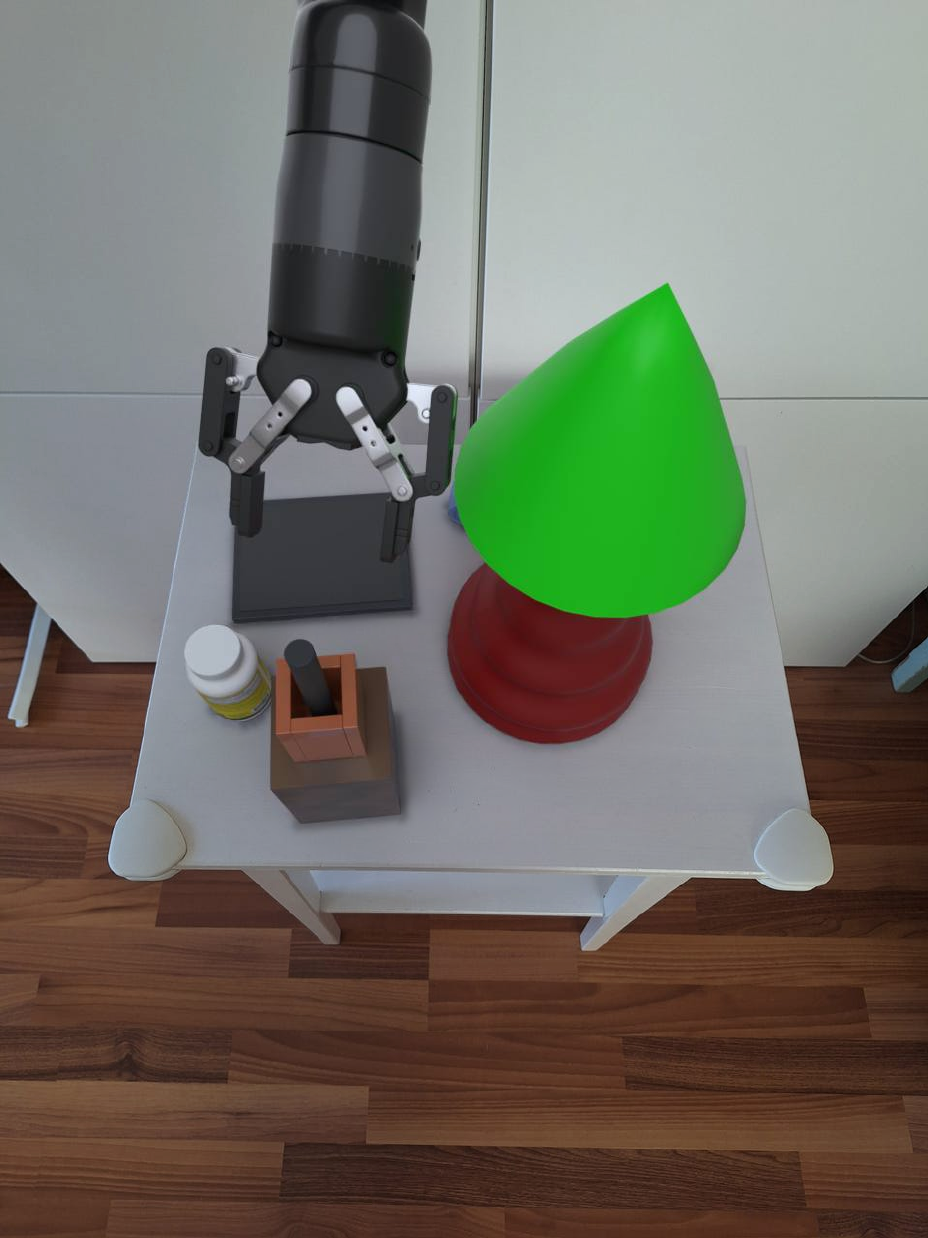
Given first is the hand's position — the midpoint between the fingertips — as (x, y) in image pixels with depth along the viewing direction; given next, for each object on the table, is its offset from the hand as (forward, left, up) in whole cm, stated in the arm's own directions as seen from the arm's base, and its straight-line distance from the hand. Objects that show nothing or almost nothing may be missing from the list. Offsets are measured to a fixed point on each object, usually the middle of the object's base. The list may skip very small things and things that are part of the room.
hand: (319, 547), depth 46 cm
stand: (-2, -6, -31) cm, 31 cm away
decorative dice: (+12, +22, -31) cm, 40 cm away
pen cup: (-2, -6, -17) cm, 18 cm away
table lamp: (+18, +5, -31) cm, 36 cm away
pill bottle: (-12, +3, -31) cm, 33 cm away
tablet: (-4, +17, -31) cm, 36 cm away
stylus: (-2, -6, -16) cm, 17 cm away
